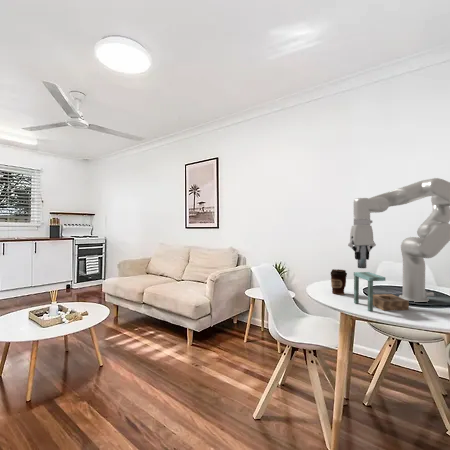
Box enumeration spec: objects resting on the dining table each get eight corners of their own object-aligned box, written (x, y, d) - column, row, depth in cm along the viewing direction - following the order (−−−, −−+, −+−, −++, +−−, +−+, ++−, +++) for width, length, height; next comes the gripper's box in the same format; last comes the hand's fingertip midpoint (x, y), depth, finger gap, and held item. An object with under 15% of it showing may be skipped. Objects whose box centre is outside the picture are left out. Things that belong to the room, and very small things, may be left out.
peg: (363, 266, 145) (363, 243, 145) (368, 268, 141) (368, 244, 141) (356, 267, 145) (355, 243, 145) (360, 268, 141) (360, 244, 141)
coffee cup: (341, 296, 151) (342, 272, 151) (327, 293, 157) (327, 269, 157) (349, 293, 157) (349, 270, 156) (335, 290, 163) (335, 268, 163)
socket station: (390, 301, 141) (390, 271, 141) (409, 310, 128) (409, 276, 128) (353, 302, 139) (353, 272, 139) (369, 311, 126) (369, 277, 126)
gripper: (373, 222, 147) (373, 258, 147) (342, 223, 146) (342, 258, 146) (382, 222, 139) (382, 260, 140) (349, 223, 138) (349, 261, 138)
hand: (361, 259), depth 143 cm, fingers closed on peg, 4 cm apart
